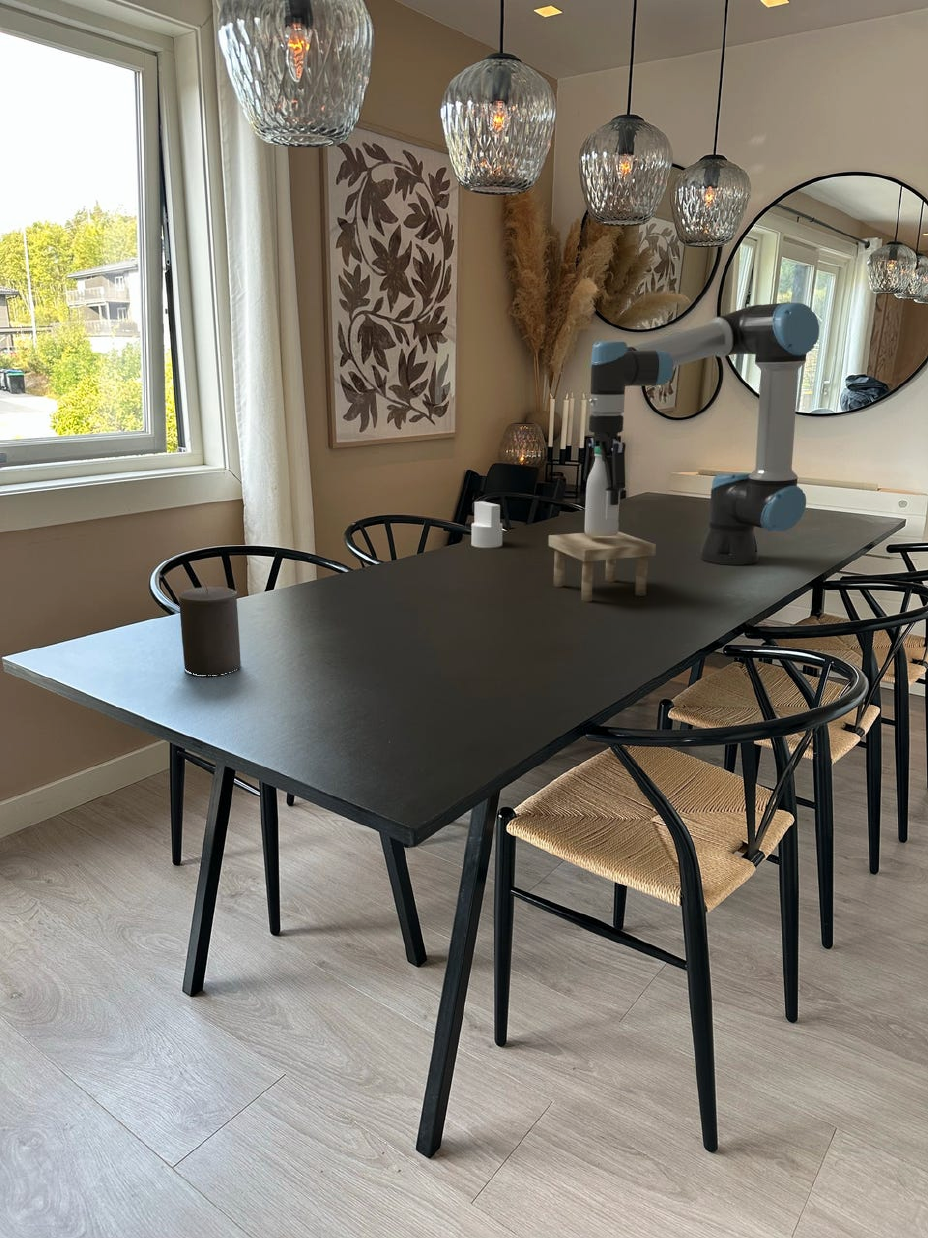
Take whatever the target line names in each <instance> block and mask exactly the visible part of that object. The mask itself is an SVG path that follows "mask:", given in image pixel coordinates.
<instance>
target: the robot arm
mask: <svg viewBox="0 0 928 1238" xmlns="http://www.w3.org/2000/svg"><path fill="white" fill-rule="evenodd" d="M819 336H820V324H819V319H818V317H817V315H816V313H815V312H814V311H813V310H812V308H811V307H809V306H808V305H807V304H805V303H801V302H791V301H787V302H780V303H769V304H768V303H767V304H755V305H750V306H747V307H743V308H741V309H738V310H735V311H732V312H729V313H727V314H723V315H720V316H717V317H714V318H712V319H711V320H709V322H708V324H704V325H700V326H696V327H693V328H690V329H689V328H688V329H686V330H683V331H679V332H675V333H672V334H668V335H665V336H662V337H661V336H660V337H658V338H655V339H652V340H647V341H644V342H643V341H642V342H639V343H637V344H632V345H629V346H627V345H628V344H627V343H626V341H596V342H595V343H594V344H593V345H592V350H591V351H592V352H591V357H590V358H591V361H590V397H589V401H588V403H589V412H590V413H592V414H590V416H589V420H588V422H589V423H588V431H589V432H590V433H594V434H593V436H592V438H591V437H590V438H589V437H588V438H586V440H585V443H586V451H585V457H584V458H585V461H584V467H583V476H582V477H583V481H584V482H587V480H588V477H589V474H590V472H591V470H592V468H593V465H594V462H595V456H594V455H595V452H594V450H595V446H599V447H600V449H602V460H603V461H604V462H605V467H606V473H607V480H608V486H609V487H608V488H607V489H606V513H605V519H606V520H610V519H617V518H618V501H619V490H620V491H621V490H622V489H625V488H626V465H625V464H626V463H625V459H626V458H625V456H626V455H625V453H626V447H627V446H626V442H620V441H619V438H618V434H619V433H622V432H623V431H624V416H623V414H622V413H624V412H625V394H626V387H631V386H635V387H636V386H637V387H639V386H640V387H643V386H645V387H646V386H648V387H651V386H652V387H657V386H664V385H666V384H668V383H669V382H670V380H671V379H672V377H673V375H674V370H675V369H674V368H675V367H678V366H682V365H685V364H688V363H692V362H696V361H698V360H702V359H705V358H709V357H712V356H716V357H718V358H724V357H727V356H731V355H754V356H755V357H754V364H755V365H756V367H758V368H759V370H760V381H759V398H758V399H759V401H758V415H757V433H756V434H757V435H756V448H755V449H756V451H755V452H756V453H755V467H754V468H755V469H754V470H753V471H752V472H748V473H747V472H743V473H740V472H739V473H726V474H725V473H723V474H718V475H715V476H714V477H713V479H712V482H711V483H712V486H711V488H710V500H709V501H710V503H709V505H710V506H709V520H708V531H707V532H706V535H705V537H704V540H703V542H702V546H701V547H700V550H699V558H700V559H701V560H703V561H705V562H709V563H712V564H713V563H715V564H720V565H730V566H731V565H733V566H734V565H738V566H739V565H750V564H754V563H757V562H758V561H759V549H758V546H757V541H756V537H755V533H754V531H755V530H754V529H755V528H760V529H764V530H765V531H768V532H771V531H773V532H774V531H775V532H785V531H788V530H790V529H792V528H794V527H795V526H796V525H797V523H798V522H799V521H801V519H802V517H803V516H804V513H805V510H806V506H807V496H806V494H805V493H804V491H803V489H802V488H800V486H798V478H799V477H798V475H797V474H796V472H794V470H793V456H794V453H793V452H794V444H795V443H794V440H795V429H796V428H795V426H796V412H797V411H796V410H797V400H798V396H797V395H798V384H799V383H798V380H799V370H800V368H801V367H802V366H803V365H804V364H805V363H806V362H807V354H808V353H809V352H811V351H812V350H813V349H814V348H815V346H814V345H816V344H817V342H818V339H819Z"/></svg>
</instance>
